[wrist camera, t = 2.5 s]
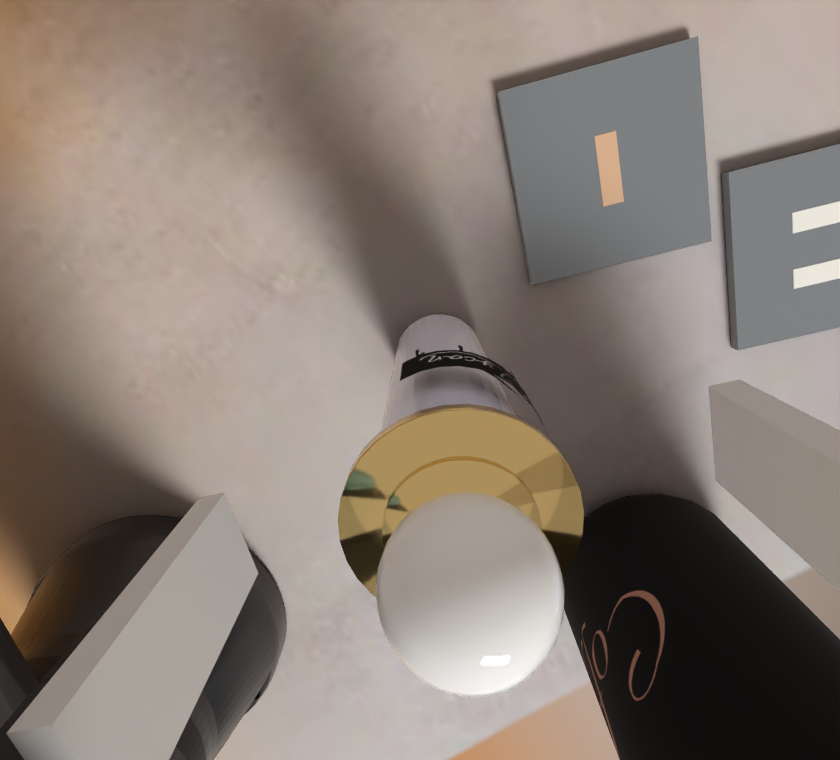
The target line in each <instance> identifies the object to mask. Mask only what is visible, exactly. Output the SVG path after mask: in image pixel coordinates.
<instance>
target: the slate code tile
mask: <svg viewBox="0 0 840 760" xmlns="http://www.w3.org/2000/svg"><path fill="white" fill-rule="evenodd" d="M721 175H722V193H723V210H724V227H725V244H726V261H727V279H728V296H729V313H730V330H731V348H734V349H736V350H742V349H746V348H750V347H755V346H759V345H763V344H768V343H772V342H777V341H781V340H785V339H790V338H794V337H798V336H803V335H807V334H812V333H816V332H820V331H825V330H829V329H834V328H838V327H840V143H839V144H835V145H832V146H828V147H824V148H820V149H816V150H812V151H808V152H804V153H800V154H796V155H792V156H788V157H785V158H781V159H777V160H773V161H769V162H765V163H761V164H757V165H753V166H749V167H745V168H741V169H738V170H734V171H730V172H726V173H722V174H721Z"/></svg>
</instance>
